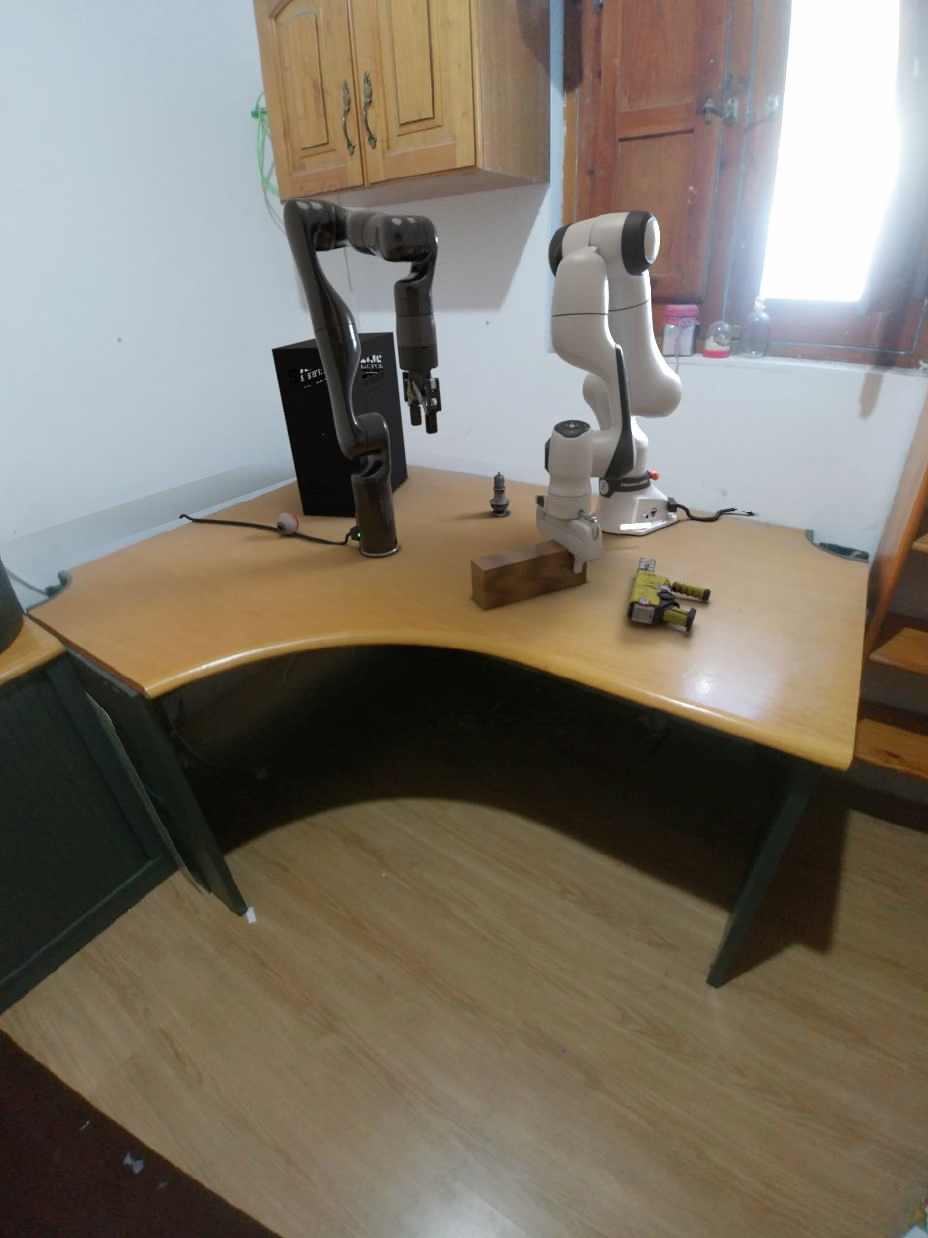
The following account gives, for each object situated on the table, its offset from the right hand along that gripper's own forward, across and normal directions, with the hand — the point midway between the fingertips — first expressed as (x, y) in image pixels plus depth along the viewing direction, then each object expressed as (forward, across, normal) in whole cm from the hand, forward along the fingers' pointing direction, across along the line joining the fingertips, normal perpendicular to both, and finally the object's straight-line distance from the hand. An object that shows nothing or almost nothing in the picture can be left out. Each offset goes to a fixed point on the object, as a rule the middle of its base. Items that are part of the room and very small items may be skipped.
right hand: (566, 565), depth 131 cm
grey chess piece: (+4, +45, -7) cm, 45 cm away
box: (+4, 0, +9) cm, 10 cm away
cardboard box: (+4, +84, +23) cm, 87 cm away
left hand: (-29, +17, +24) cm, 42 cm away
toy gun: (+4, -19, -12) cm, 23 cm away
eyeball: (+4, +61, +49) cm, 79 cm away
